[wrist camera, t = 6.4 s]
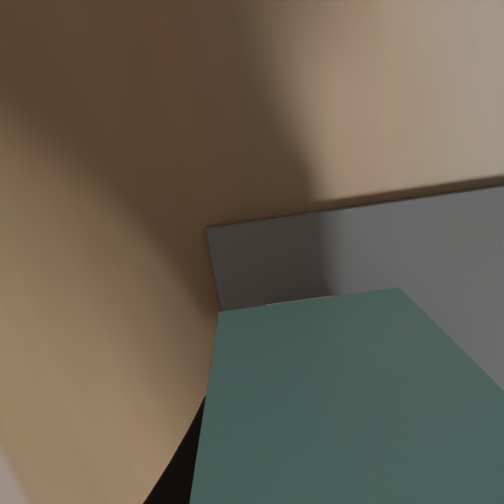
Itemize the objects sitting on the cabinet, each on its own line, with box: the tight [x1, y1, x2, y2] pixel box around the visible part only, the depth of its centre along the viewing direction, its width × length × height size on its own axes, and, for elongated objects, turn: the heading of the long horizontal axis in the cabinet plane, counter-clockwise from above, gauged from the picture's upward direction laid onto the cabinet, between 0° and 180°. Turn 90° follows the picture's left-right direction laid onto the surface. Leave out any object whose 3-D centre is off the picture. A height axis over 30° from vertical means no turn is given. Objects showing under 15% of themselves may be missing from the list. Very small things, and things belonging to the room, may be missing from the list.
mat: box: [205, 185, 504, 391], centre depth 15 cm, size 15×12×1 cm
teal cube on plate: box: [189, 287, 504, 504], centre depth 8 cm, size 5×5×7 cm
